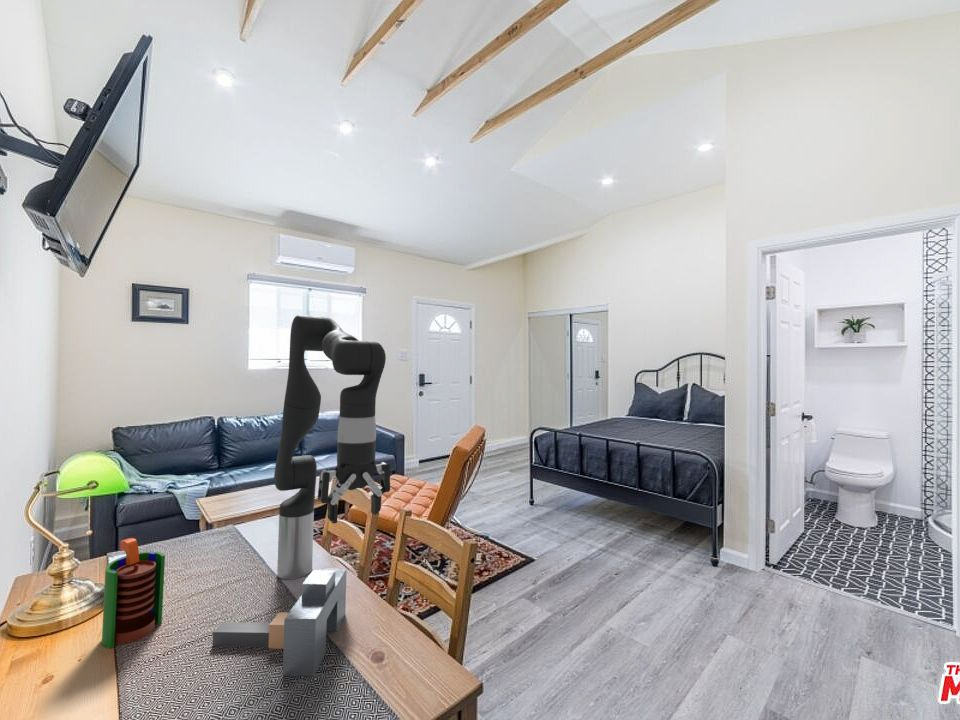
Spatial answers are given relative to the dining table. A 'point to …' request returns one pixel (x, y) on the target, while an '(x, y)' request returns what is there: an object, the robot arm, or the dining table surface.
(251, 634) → the plug
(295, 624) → the housing
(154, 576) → the motor
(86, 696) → the dining table surface
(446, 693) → the dining table surface
